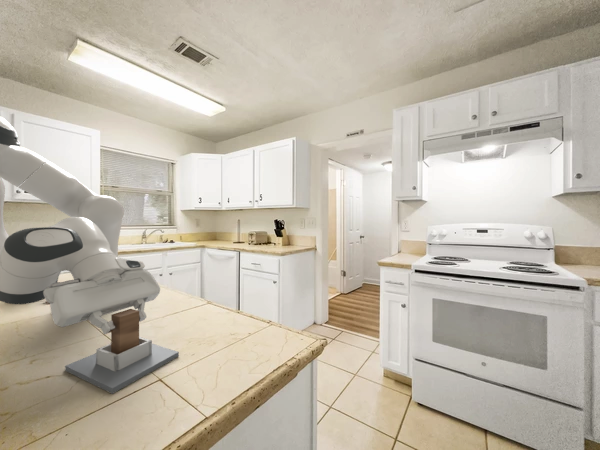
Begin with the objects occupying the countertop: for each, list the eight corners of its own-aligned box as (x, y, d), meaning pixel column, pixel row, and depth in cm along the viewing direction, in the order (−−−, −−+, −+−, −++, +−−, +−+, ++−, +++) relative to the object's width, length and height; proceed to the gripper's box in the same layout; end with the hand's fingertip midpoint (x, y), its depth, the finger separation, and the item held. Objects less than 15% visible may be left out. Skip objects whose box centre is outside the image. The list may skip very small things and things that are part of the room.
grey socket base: (65, 370, 52) (65, 351, 52) (133, 341, 65) (134, 325, 65) (112, 393, 45) (112, 371, 45) (178, 356, 58) (178, 338, 58)
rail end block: (111, 361, 54) (111, 314, 54) (130, 352, 57) (130, 308, 57) (119, 364, 53) (120, 317, 52) (138, 355, 56) (139, 310, 56)
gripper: (45, 275, 48) (73, 337, 44) (148, 260, 67) (174, 303, 63) (34, 295, 50) (60, 356, 46) (137, 275, 69) (162, 317, 65)
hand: (127, 325), depth 55 cm, fingers open, 5 cm apart
